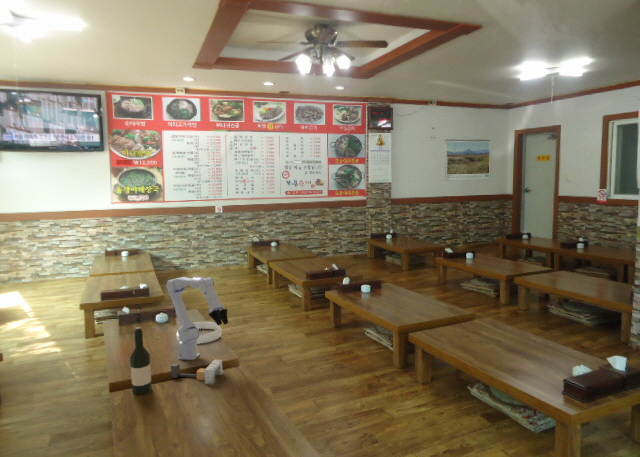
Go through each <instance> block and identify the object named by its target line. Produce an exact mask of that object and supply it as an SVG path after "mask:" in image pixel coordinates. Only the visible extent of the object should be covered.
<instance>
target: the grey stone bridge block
mask: <svg viewBox="0 0 640 457" xmlns="http://www.w3.org/2000/svg"><path fill="white" fill-rule="evenodd" d="M204 369H205V380H204V382H205V383H204V385H215V383H216V376H217V375H220V376H222V375H223V373H224V372H223V360H222V359H213V361H212V362H211V363H210V364H209V365H208V366H207V367H206V368H204Z"/></svg>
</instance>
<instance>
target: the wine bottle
mask: <svg viewBox="0 0 640 457" xmlns="http://www.w3.org/2000/svg"><path fill="white" fill-rule="evenodd" d="M133 332H134V333H133V334H134V345H135V346H134V347H135V348H134V350H133V351H132V353H131V355H130V357H129V362H130V374H131V376H130V377H131V389H132V390H131V392H133V393H132V394H134V395H135V394H136V396H137V395H141V396H142V395H144V394H147V393H150V392H151V391H152V387H153V386H152V370H151V356H150V353H149V352H148V351H147V349H146V348H145V347H144V338H143V337H144V336H143V335H144V334H143V328H142V327H141V326H137V327H135V328H134V331H133Z"/></svg>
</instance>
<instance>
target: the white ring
mask: <svg viewBox="0 0 640 457" xmlns="http://www.w3.org/2000/svg"><path fill="white" fill-rule="evenodd" d="M193 323H194V324H196V327H197V328H198V330H204V329H206V330H214V331H211V332H208V333H203V334H201V333H200V335H199V337H198V340H197V345H199V344H200V343H201V344H207V343H210V342H214V341H216V340H218V339H219V338H220V337H221V336H222V333H223V332H222V328H221V326H220V325H219V326H218V325H217V324H216V322H215V321H207V320H205V321H194V322H193ZM199 328H200V329H199ZM201 328H202V329H201ZM178 330H179V328H178V329H177V332H176V341H177V342H178V343H179V342H180V339H179V333H178ZM186 330H188V329H186ZM184 331H185V330H184Z"/></svg>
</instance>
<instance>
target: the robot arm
mask: <svg viewBox="0 0 640 457" xmlns="http://www.w3.org/2000/svg"><path fill="white" fill-rule="evenodd" d="M187 286H191V287H192V288H194V289H199V290H200V291H201V292H202V294H203V295H204V296H205V300H206V301H207V305H208V306H209V308H208V312H209V313H208V314H207V315H208V317H210V318H211V319H212V320H213V322H215V323H216V324H217V325H218V326H219V325H222V324H223V325H226V324H228V323H229V320H228V319H229V318H228V309H227V308H225V304H224V303H221V301H220V299H219V296H218V294H217V291H216V289H215V280H214V279H213V278H212V277H211V276H208V277H204V276H200V277H199V276H198V275H194V277H191V278H190V277H186V276H181V277H177V278H173V279H169V280H167V282H166V286H165V287H166V290H167V292H168V295H169V297H170V298H171V301H172V303H173V307H174V309H175V313H176V315H177V319H178V321H179V324H180V326H179V328H178V329H179V330H178V329H177V332H178V333H179V339H180V342H179V341H178V345H177V351H178V352H177V354H178V357H177V359H178V360H189V361H190V360H193V361H194V360H195V359H197V358H198V357H199V356H200V355H201V353H199V352H198V346H197V345H198V344H197V340H198V337H199V335H201V333H200V329H198V328H197V327H196V324H194V322H192V321H191V319H190V317H189V313H188V311H187V308H186V305H185V303H184V300H183V297H182V295H183V294H184V292H185V290H186V289H187ZM186 329H188V330H186ZM184 330H185V331H184Z"/></svg>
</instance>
